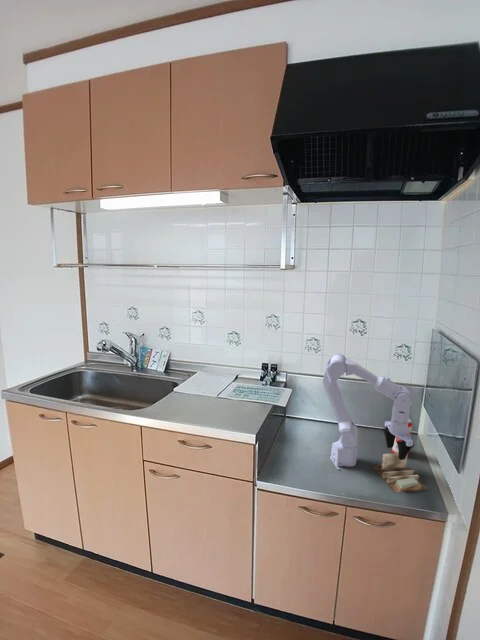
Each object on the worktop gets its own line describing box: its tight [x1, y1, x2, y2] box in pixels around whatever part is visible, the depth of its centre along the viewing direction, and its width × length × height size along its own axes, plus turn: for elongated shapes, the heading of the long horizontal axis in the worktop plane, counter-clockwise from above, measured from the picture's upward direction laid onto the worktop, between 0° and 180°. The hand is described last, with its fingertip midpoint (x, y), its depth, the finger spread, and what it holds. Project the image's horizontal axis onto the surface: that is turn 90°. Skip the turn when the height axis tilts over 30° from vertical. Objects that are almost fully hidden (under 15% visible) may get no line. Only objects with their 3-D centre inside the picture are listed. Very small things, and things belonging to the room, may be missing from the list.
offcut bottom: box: [395, 482, 421, 491], centre depth 118 cm, size 8×3×1 cm, turn 98°
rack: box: [373, 463, 429, 493], centre depth 123 cm, size 13×14×3 cm
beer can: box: [391, 418, 413, 456], centre depth 138 cm, size 6×6×16 cm
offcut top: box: [396, 477, 418, 488], centre depth 118 cm, size 7×3×1 cm, turn 106°
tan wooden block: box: [381, 452, 409, 469], centre depth 127 cm, size 9×2×7 cm, turn 98°
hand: (395, 453), depth 126 cm, fingers open, 7 cm apart
